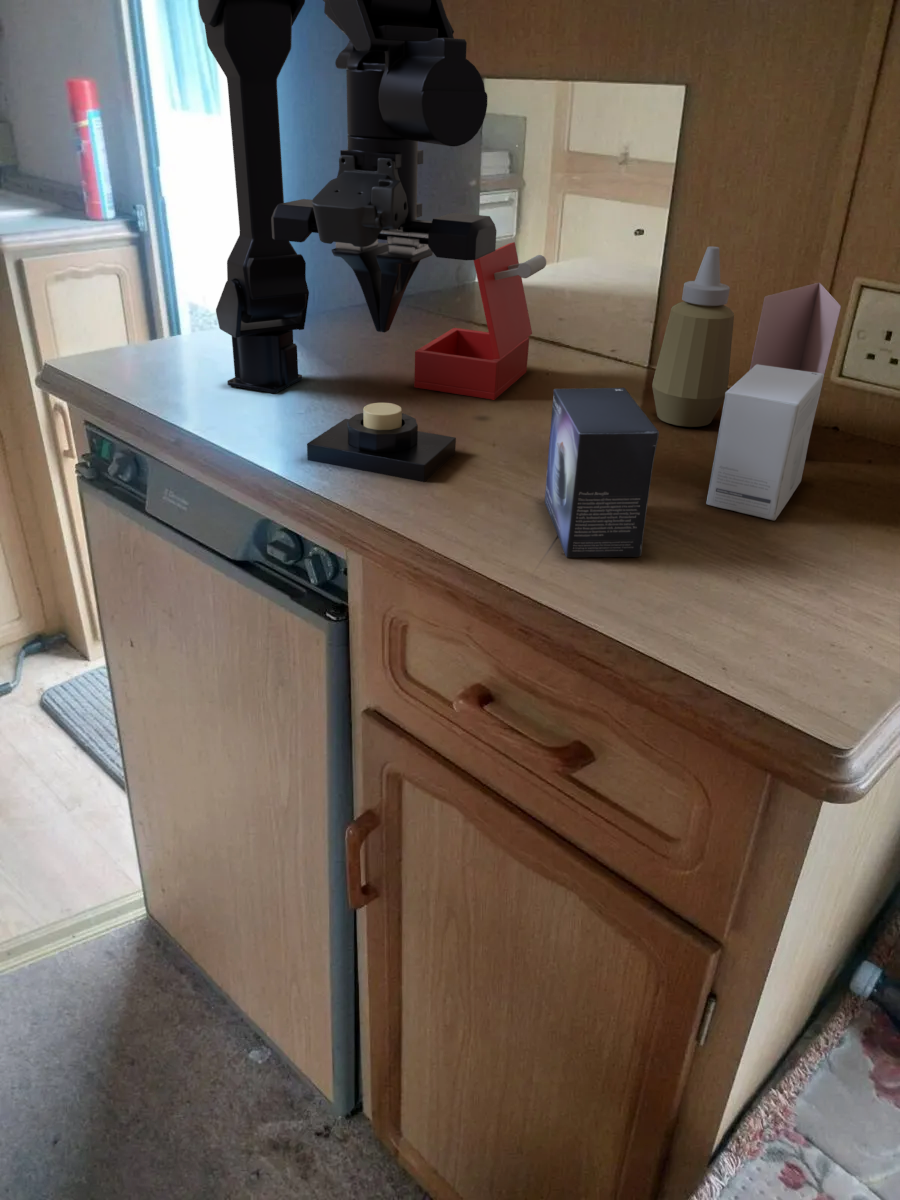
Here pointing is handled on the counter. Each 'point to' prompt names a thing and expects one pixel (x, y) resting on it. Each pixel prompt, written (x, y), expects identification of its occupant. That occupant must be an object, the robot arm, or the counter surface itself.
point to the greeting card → (797, 329)
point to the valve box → (468, 365)
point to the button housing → (383, 449)
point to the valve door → (505, 296)
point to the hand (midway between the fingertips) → (382, 331)
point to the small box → (599, 471)
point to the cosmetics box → (763, 440)
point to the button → (382, 416)
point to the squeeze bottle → (696, 350)
